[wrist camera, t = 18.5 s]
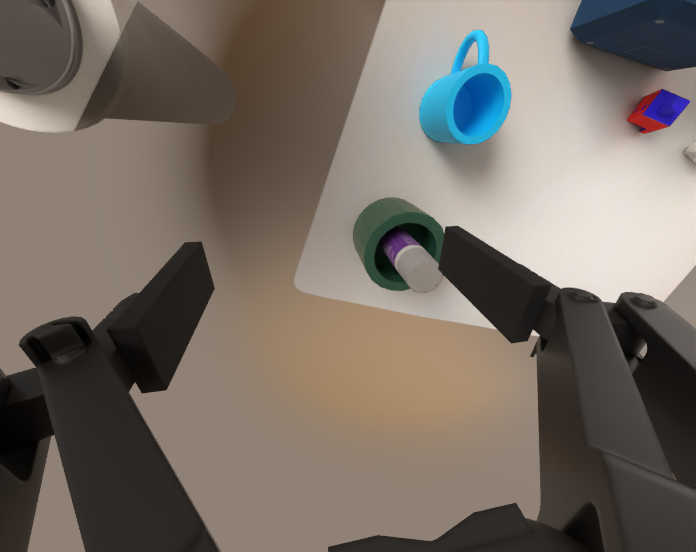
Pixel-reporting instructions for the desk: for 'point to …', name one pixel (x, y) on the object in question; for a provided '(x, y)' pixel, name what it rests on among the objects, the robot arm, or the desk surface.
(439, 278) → the container
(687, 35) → the radio
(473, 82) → the mug
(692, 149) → the grey ring
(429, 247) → the jar
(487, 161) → the desk surface
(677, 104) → the toy building block
